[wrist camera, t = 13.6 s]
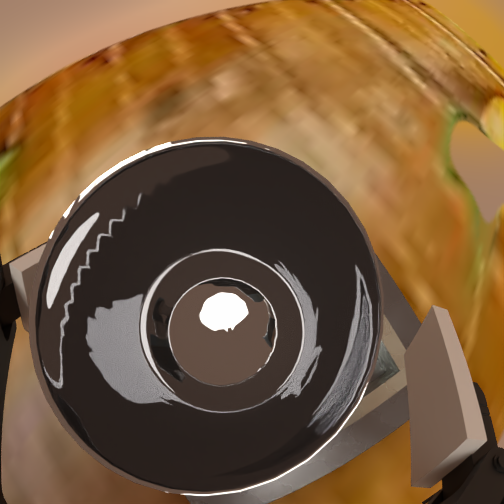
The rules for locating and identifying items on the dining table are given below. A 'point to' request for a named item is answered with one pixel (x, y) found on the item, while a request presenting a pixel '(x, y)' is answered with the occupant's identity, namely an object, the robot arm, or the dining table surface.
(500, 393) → the dining table surface
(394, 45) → the dining table surface
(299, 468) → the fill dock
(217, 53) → the dining table surface
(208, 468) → the wine glass
